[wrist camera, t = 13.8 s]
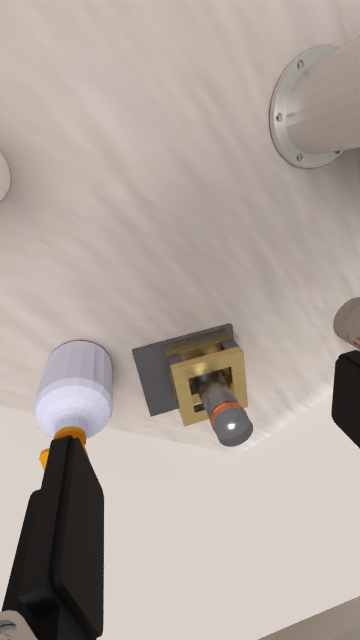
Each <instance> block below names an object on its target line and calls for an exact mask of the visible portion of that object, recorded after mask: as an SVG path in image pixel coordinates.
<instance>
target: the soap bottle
mask: <svg viewBox="0 0 360 640" xmlns="http://www.w3.org/2000/svg"><path fill="white" fill-rule="evenodd" d="M112 409H113V388H112V365H111V361H110V357H109V356H108V354H107V353H106V352H105V350H104V349H102V348H101V347H99V346H98V345H96V344H95V343H91V342H87V341H72V342H69V343H66V344H63V345H61V346H60V347H59V348H58V349H56V350H55V351H54V352H53V353H52V355H51V357H50V358H49V360H48V363H47V366H46V369H45V372H44V375H43V378H42V381H41V384H40V387H39V390H38V393H37V396H36V399H35V402H34V412H33V413H34V416H35V419H36V422H37V424H38V427H39V428H40V429H41V430H42V431H43V432H44V433H45V434H46V435H47V436H49V437H52V438H54V439H57V438H61V437H64V436H67V435H72V436H73V438H77V437H78V438H79V439H80V441H81V443H82V445H83V448H84V450H85V452H86V449H85V444H86V439H87V438H90V437H92V436H94V435H95V434H97V433H98V432H100V431H101V430H102V429H103V428H104V426H105V425H106V423H107V422H108V420H109V419H110V417H111V413H112ZM54 439H53V440H54ZM49 449H50V448H49ZM49 449H45V450H43V451H42V452H41V454H40V458H39V459H40V462H41V464H42V466H43V469H44V471H45V467H46V463H47V458H48V453H49ZM86 454H87V452H86ZM87 457H88V455H87ZM88 459H89V458H88Z"/></svg>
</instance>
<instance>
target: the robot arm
mask: <svg viewBox="0 0 360 640" xmlns="http://www.w3.org/2000/svg"><path fill="white" fill-rule="evenodd" d="M297 67H298V68H297ZM276 117H277V120H276ZM270 128H271V134H272V138H273V141H274V144H275V146H276V148H277V150H278V151H279V153H280V154H281V155H282V156H283V158H284V159H285V160H287V161H288V162H289V163H290V164H292V165H295V166H297V167H301V168H316V167H321V166H324V165H326V164H328V163H330V162H332V161H333V160H335V159H336V158H337V157H338V156H340V155H341V154H342V153H343V152H344V151H345V150H347V149H353V148H359V147H360V37H358V38H356V39H355V40H353V41H351V42H350V43H348V44H346V45H345V46H343V47H341V48H340V47H338V46H334V45H319V46H315V47H312V48H310V49H308V50H307V51H305V52H303V53H302V54H300V55H299V56H298V57H296V58H295V59H294V60H293V61H292V62H291V63H290V64H289V65H288V66H287V68H286V69H285V71H284V72H283V73H282V75H281V76H280V79H279V81H278V83H277V85H276V87H275V90H274V93H273V97H272V100H271V107H270ZM296 158H297V159H296ZM332 418H333V420H334V422H335V423H336V425H338V427H339V428H341V430H342V431H343V432H344V433H345V434H346V435H347V436H348V437H349V438H350V439H351V440H352V441H353V442H354V443H355V444H356V445H357V446H358V447H359V448H360V351H358V350H354V351H351V352H347V353H344V354H341V355H340V356H339V358H338V360H337V361H336V363H335V376H334V388H333V401H332ZM103 575H104V495H103V490H102V488H101V485H100V484H99V481H98V479H97V477H96V474H95V472H94V470H93V468H92V465H91V463H90V461H89V459H88V457H87V454H86V452H85V450H84V448H83V445H82V443H81V441H80V439H79V438H78V437H77V438H73V436H72V435H67V436H64V437H61V438H57V439H54V440H52V441H51V444H50V449H49V453H48V458H47V463H46V467H45V472H44V477H43V481H42V486H41V489H40V490H36V491H34V492H33V493H32V494H31V496H30V499H29V502H28V506H27V510H26V514H25V518H24V522H23V526H22V530H21V534H20V538H19V543H18V546H17V550H16V555H15V559H14V563H13V567H12V571H11V575H10V579H9V583H8V587H7V591H6V595H5V599H4V603H3V607H2V611H1V612H0V640H96V638H97V637H100V636H101V635H102V632H103V589H104V588H103V587H104V585H103V582H104V581H103V580H104V576H103ZM259 640H360V596H359V597H357V598H354V599H352V600H350V601H347V602H345V603H343V604H340V605H338V606H336V607H333V608H331V609H329V610H326V611H324V612H321V613H319V614H317V615H314V616H312V617H310V618H307V619H305V620H303V621H300V622H298V623H295V624H293V625H291V626H289V627H286V628H284V629H281V630H279V631H277V632H275V633H272V634H270V635H268V636H265V637H263V638H261V639H259Z"/></svg>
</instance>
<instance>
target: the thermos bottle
mask: <svg viewBox="0 0 360 640" xmlns="http://www.w3.org/2000/svg"><path fill="white" fill-rule="evenodd" d="M334 330H335V332H336V334H337V335H338V336H339V337H341V338H342V339H344V340H346V341H347V342H349V343H350V344H352V345H353V346H355V347H357V348H358V349H360V298H355V299H352V300H350V301H348V302H347V303H346V304H344V305H343V306H342V307H341V309H340V310H339V311H338V313H337V315H336V317H335V320H334Z"/></svg>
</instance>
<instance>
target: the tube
mask: <svg viewBox="0 0 360 640" xmlns="http://www.w3.org/2000/svg"><path fill="white" fill-rule="evenodd" d="M191 379H192V381H193V383H194V386H195V388H196V390H197V392H198V394H199V397H200V399H201V401H202V403H203V406H204V408H205V410H206V412H207V415H208V417H209V419H210V423H211V425H212V428H213V430H214V431H215V432H216V435H217V437H218V439H219V441H220V443H221V444H223V445H225V446H229V447H232V446H237V445H240V444H242V443H243V442H245V441H246V440H247V439H248V438H249V437H250V436H251V434H252V431H253V425H252V423H251V421H250V420H249V418H248V416H247V414H246V412H245V410H244V408H243V407H242V405H241V404H240V403H239V402H238V400H237V399H236V397H235V395H234V394H233V392H232V391H231V389H230V387H229V386H228V384H227V383H226V381H225V379H224V378H223V376H222V374H221V373H220V371H219V370H217V371H213V372H210V373H206V374H203V375H200V376H196V377H193V378H191Z"/></svg>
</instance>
